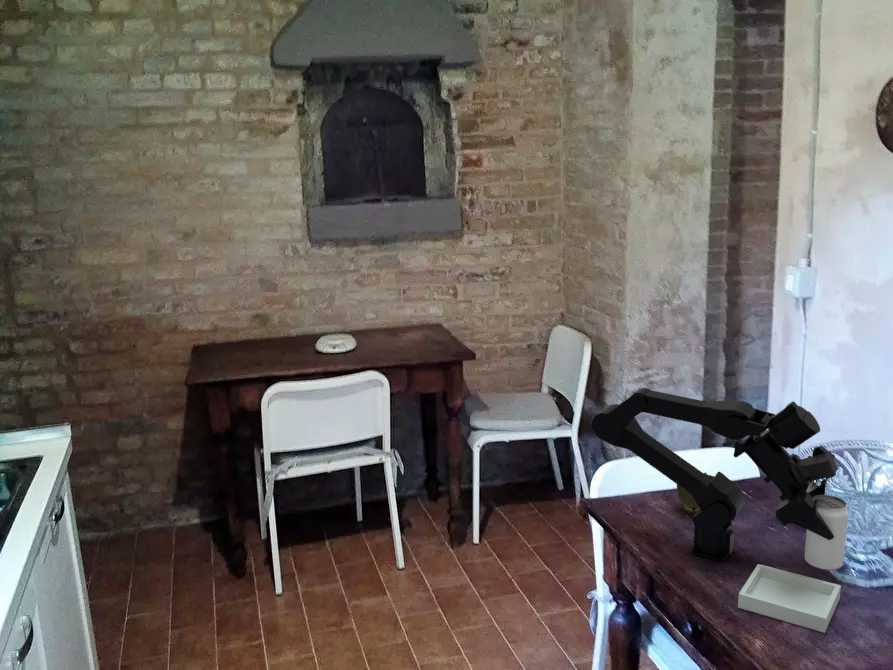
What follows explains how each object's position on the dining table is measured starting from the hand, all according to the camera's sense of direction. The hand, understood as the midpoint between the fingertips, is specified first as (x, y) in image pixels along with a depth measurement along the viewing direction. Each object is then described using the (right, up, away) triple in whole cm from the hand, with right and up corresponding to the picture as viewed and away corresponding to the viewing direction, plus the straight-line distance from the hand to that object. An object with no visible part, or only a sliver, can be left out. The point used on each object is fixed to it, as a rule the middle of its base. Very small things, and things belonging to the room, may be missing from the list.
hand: (834, 530), depth 151 cm
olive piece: (-17, -3, +30) cm, 35 cm away
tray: (-10, -11, -5) cm, 16 cm away
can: (-1, -6, +2) cm, 7 cm away
